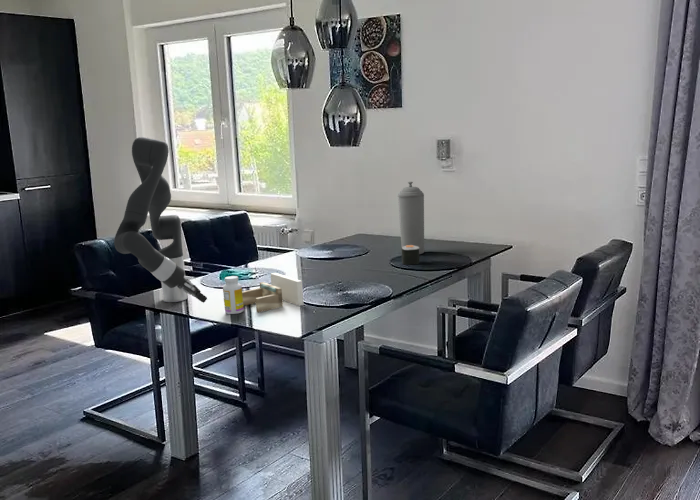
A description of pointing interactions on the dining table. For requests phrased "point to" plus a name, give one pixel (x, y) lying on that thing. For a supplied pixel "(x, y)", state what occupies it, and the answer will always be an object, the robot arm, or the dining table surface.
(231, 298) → the supplement bottle
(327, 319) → the dining table surface
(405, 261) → the sushi
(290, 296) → the backstop board
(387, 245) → the dining table surface
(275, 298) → the cradle
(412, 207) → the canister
